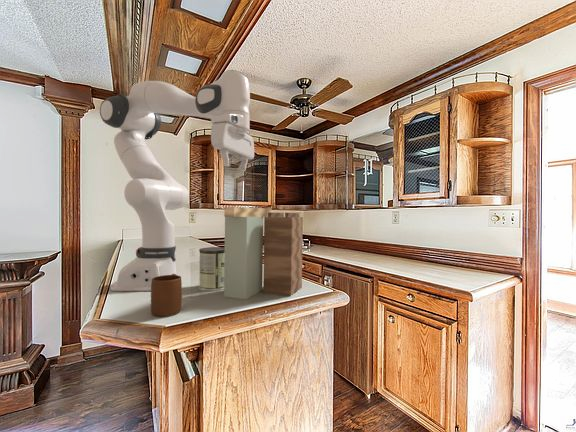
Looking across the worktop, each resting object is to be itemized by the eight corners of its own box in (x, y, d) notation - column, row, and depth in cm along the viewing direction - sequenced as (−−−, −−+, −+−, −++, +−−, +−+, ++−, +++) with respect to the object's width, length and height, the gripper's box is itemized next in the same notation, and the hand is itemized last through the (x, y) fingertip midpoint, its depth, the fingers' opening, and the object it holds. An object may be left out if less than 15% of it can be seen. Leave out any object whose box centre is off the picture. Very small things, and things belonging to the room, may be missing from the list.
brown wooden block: (290, 296, 93) (292, 212, 92) (263, 292, 96) (264, 212, 96) (301, 287, 104) (302, 213, 104) (276, 284, 107) (277, 212, 107)
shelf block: (245, 299, 88) (246, 216, 88) (224, 296, 91) (225, 216, 91) (262, 289, 100) (263, 216, 99) (242, 287, 102) (243, 216, 102)
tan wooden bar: (234, 216, 86) (234, 207, 86) (224, 216, 88) (224, 207, 88) (271, 216, 103) (271, 208, 103) (262, 216, 105) (262, 208, 105)
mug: (162, 303, 84) (162, 271, 84) (188, 302, 84) (188, 271, 84) (146, 318, 72) (146, 281, 72) (176, 317, 73) (177, 280, 73)
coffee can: (205, 283, 108) (205, 246, 108) (231, 284, 107) (232, 247, 107) (193, 290, 98) (194, 250, 98) (222, 291, 97) (223, 250, 97)
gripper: (243, 134, 99) (242, 173, 99) (207, 115, 80) (206, 163, 80) (259, 132, 97) (258, 173, 97) (226, 112, 78) (225, 162, 78)
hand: (234, 168), depth 88 cm, fingers open, 8 cm apart
